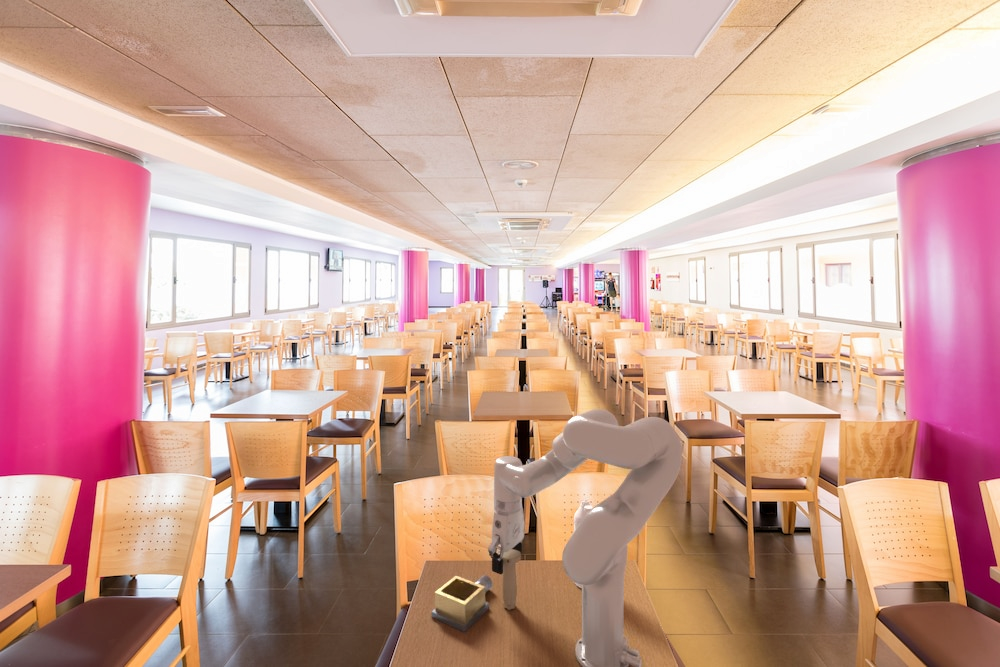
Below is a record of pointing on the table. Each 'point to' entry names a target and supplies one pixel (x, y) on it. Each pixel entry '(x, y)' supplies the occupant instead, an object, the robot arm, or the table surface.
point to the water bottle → (581, 518)
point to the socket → (461, 601)
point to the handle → (510, 577)
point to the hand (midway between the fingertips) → (507, 563)
